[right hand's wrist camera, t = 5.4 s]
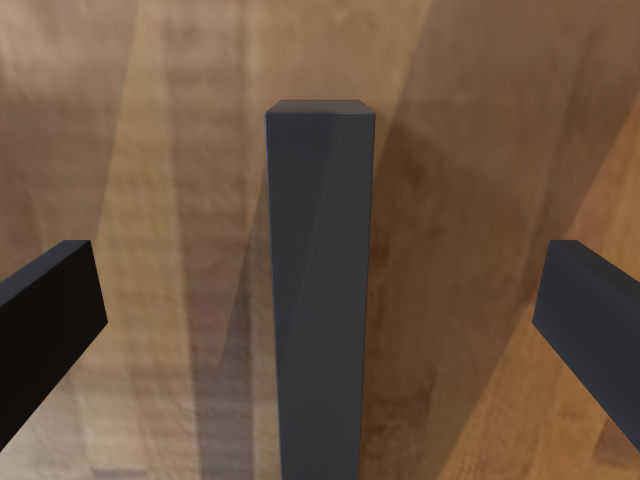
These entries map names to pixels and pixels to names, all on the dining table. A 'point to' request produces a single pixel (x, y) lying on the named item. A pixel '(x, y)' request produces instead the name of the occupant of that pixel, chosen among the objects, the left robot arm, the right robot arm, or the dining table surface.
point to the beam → (319, 279)
